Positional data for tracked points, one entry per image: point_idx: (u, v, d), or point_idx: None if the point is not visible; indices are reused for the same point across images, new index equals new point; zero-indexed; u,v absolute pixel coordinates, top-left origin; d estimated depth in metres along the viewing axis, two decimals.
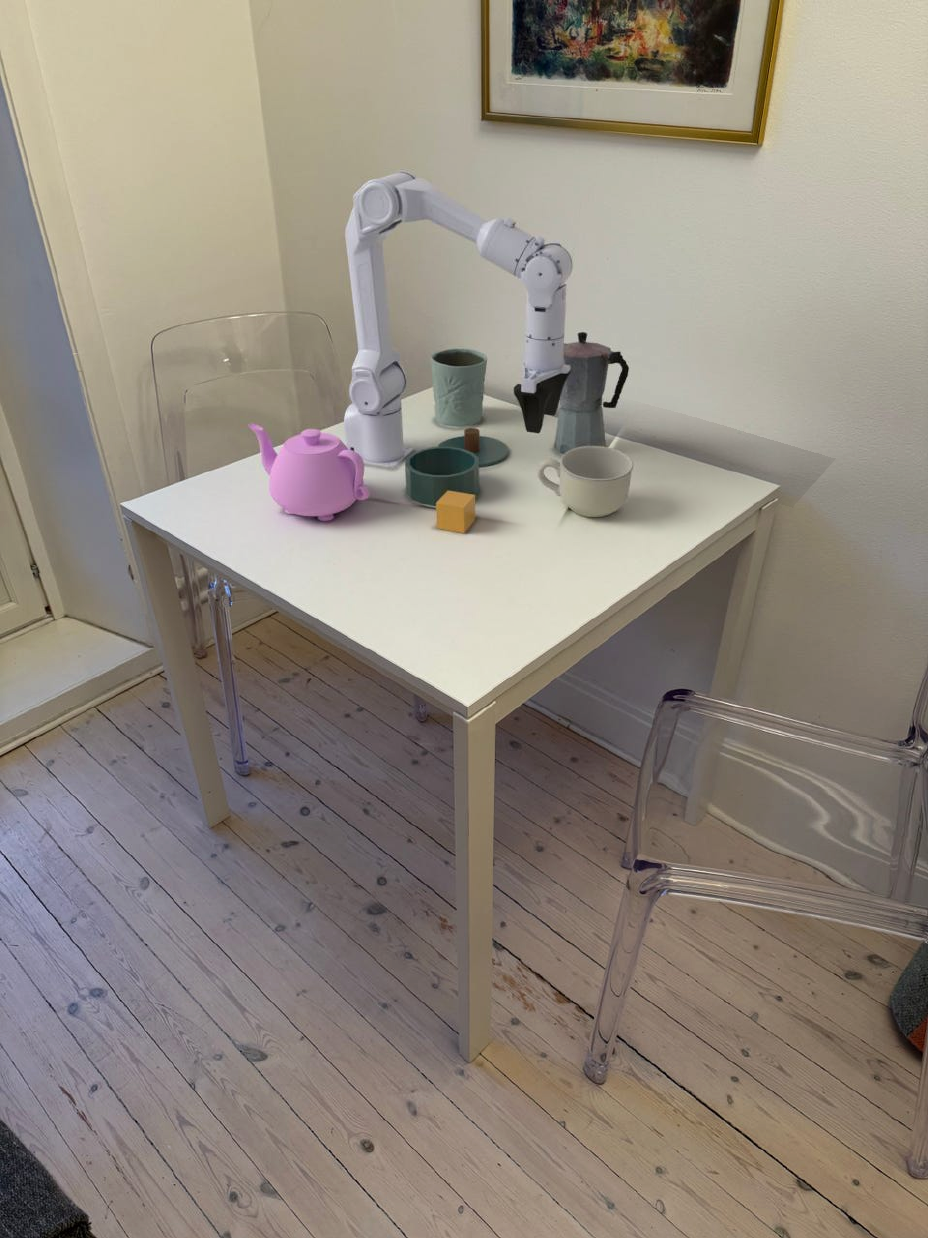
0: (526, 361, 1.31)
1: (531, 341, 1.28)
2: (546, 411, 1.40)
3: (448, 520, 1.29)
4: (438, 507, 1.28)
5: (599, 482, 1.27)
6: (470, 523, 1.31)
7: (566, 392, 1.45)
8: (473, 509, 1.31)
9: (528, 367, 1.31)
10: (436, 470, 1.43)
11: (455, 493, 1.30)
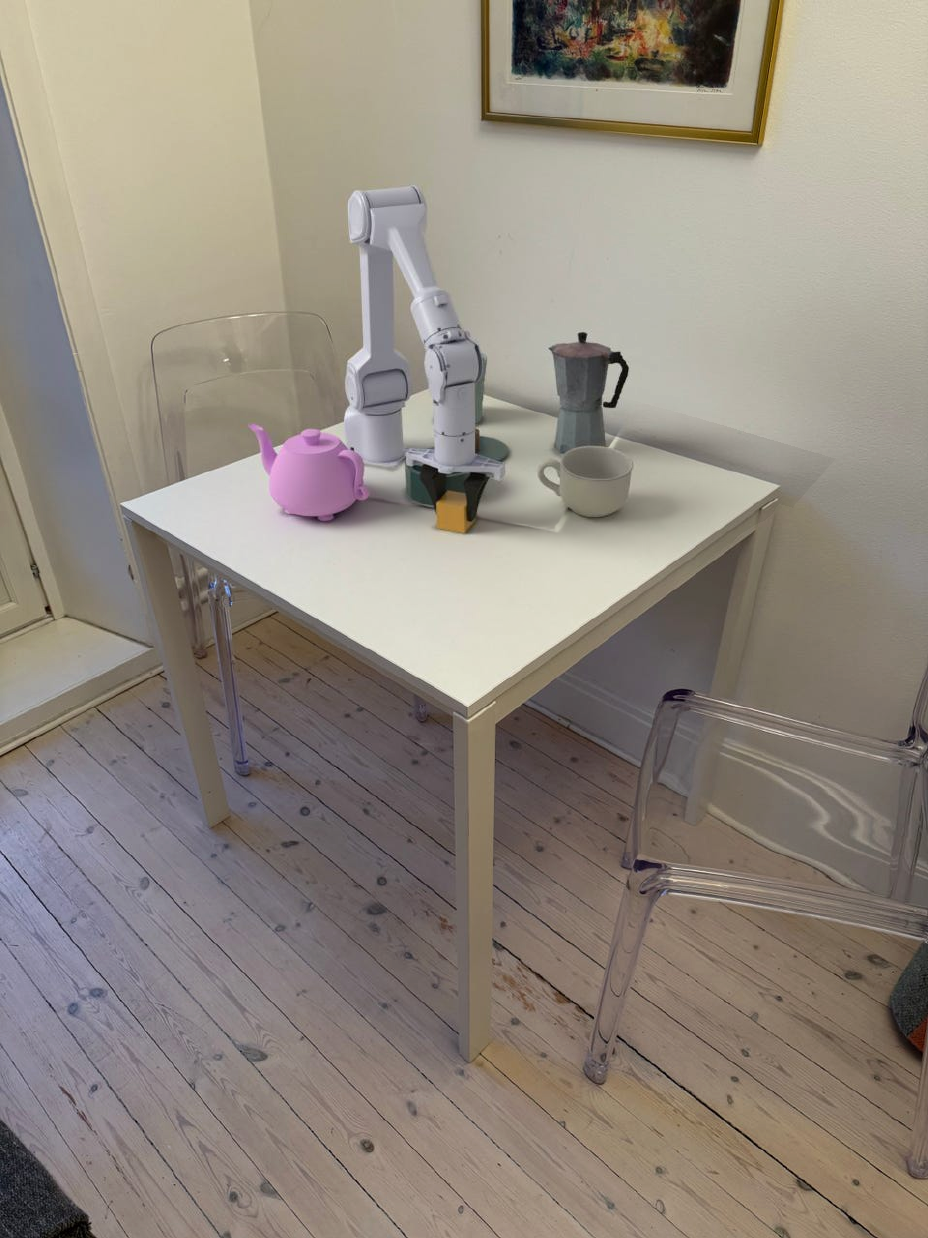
0: None
1: None
2: None
3: (448, 520, 1.29)
4: (438, 507, 1.28)
5: (599, 482, 1.27)
6: (470, 523, 1.31)
7: (566, 392, 1.45)
8: None
9: None
10: None
11: (455, 493, 1.30)
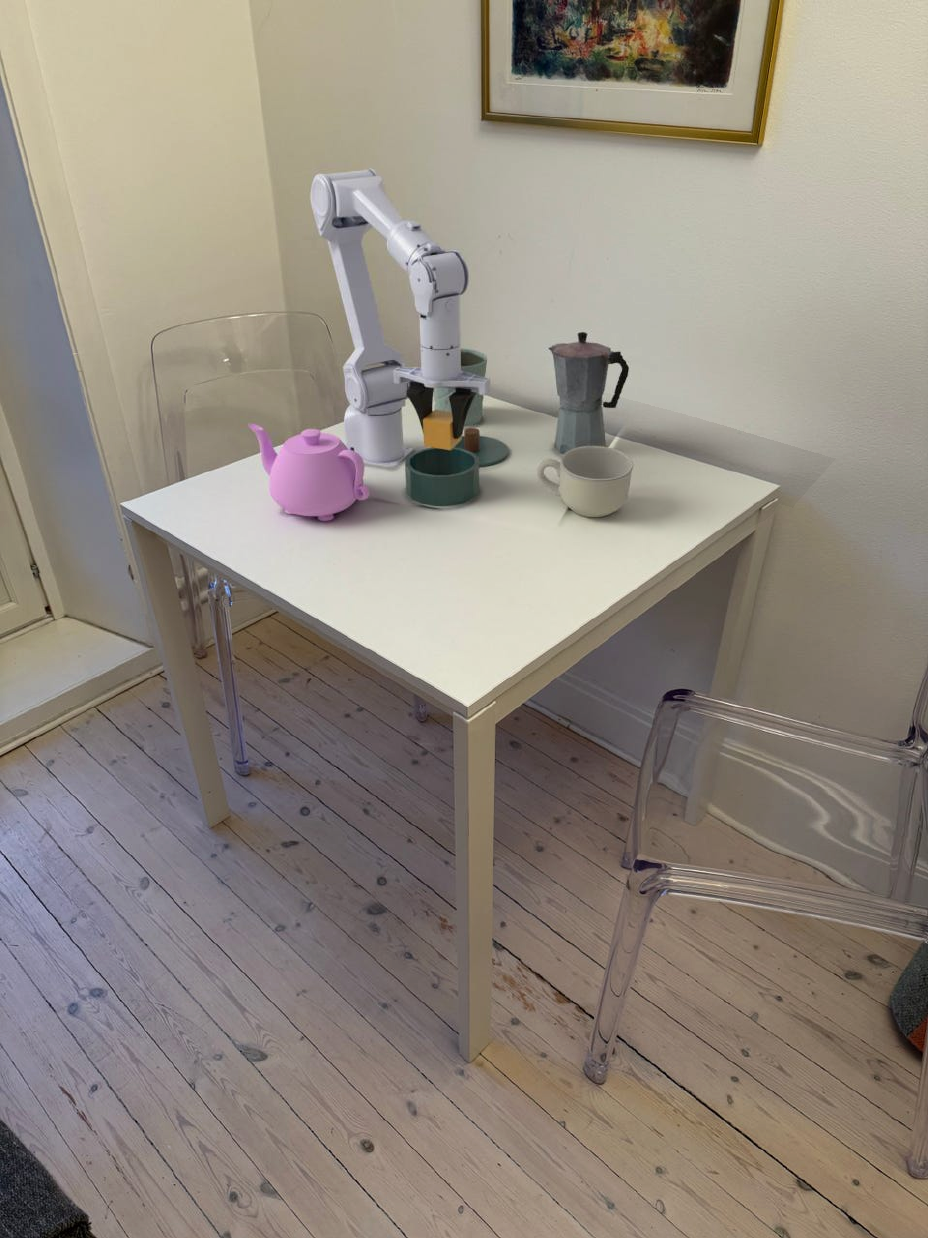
0: None
1: None
2: None
3: (434, 437, 1.32)
4: (425, 424, 1.31)
5: (599, 482, 1.27)
6: (456, 441, 1.33)
7: (566, 392, 1.45)
8: None
9: None
10: (436, 470, 1.43)
11: (442, 412, 1.33)
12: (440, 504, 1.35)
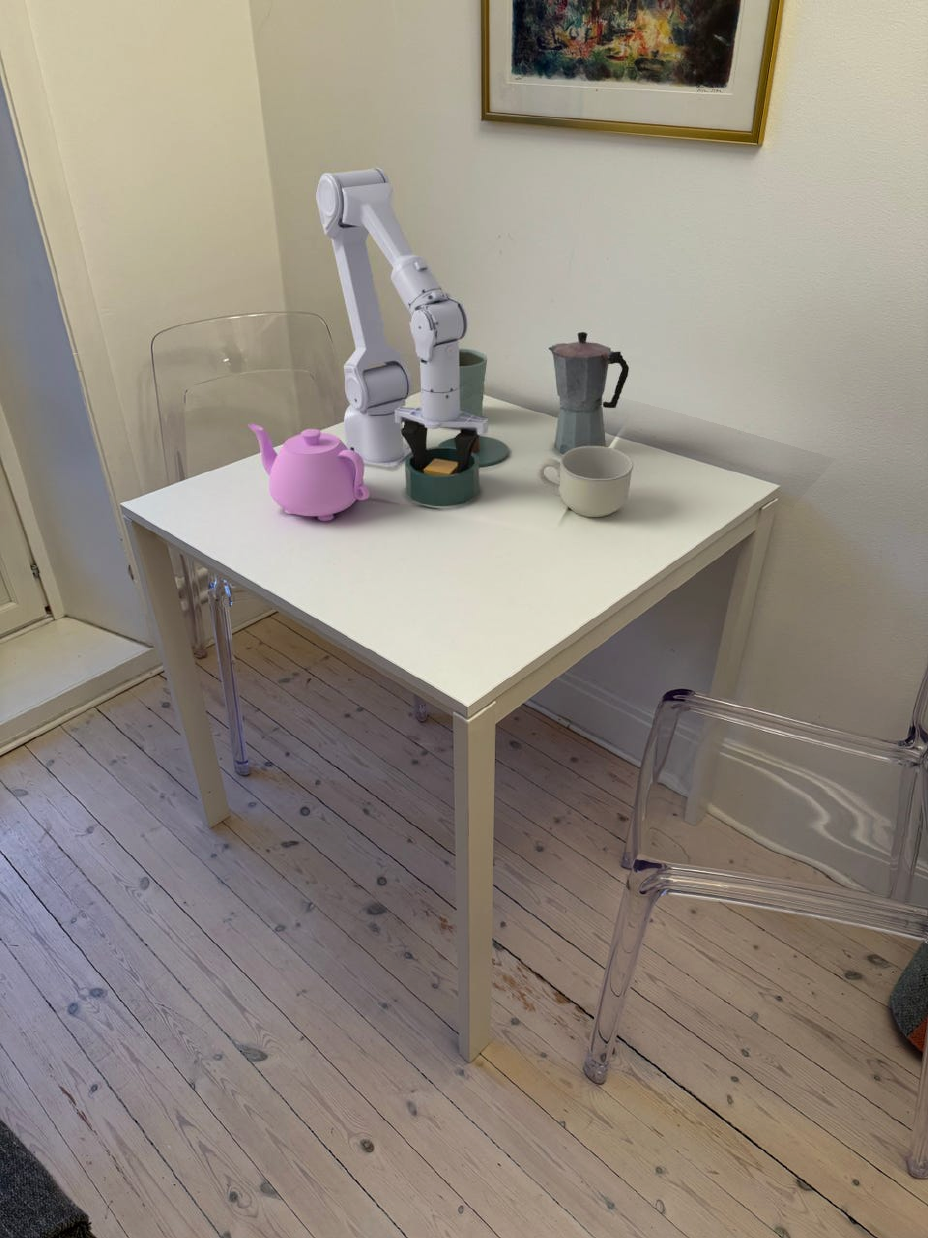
0: None
1: None
2: None
3: None
4: (425, 473, 1.37)
5: (599, 482, 1.27)
6: None
7: (566, 392, 1.45)
8: None
9: None
10: None
11: (442, 461, 1.39)
12: (440, 504, 1.35)
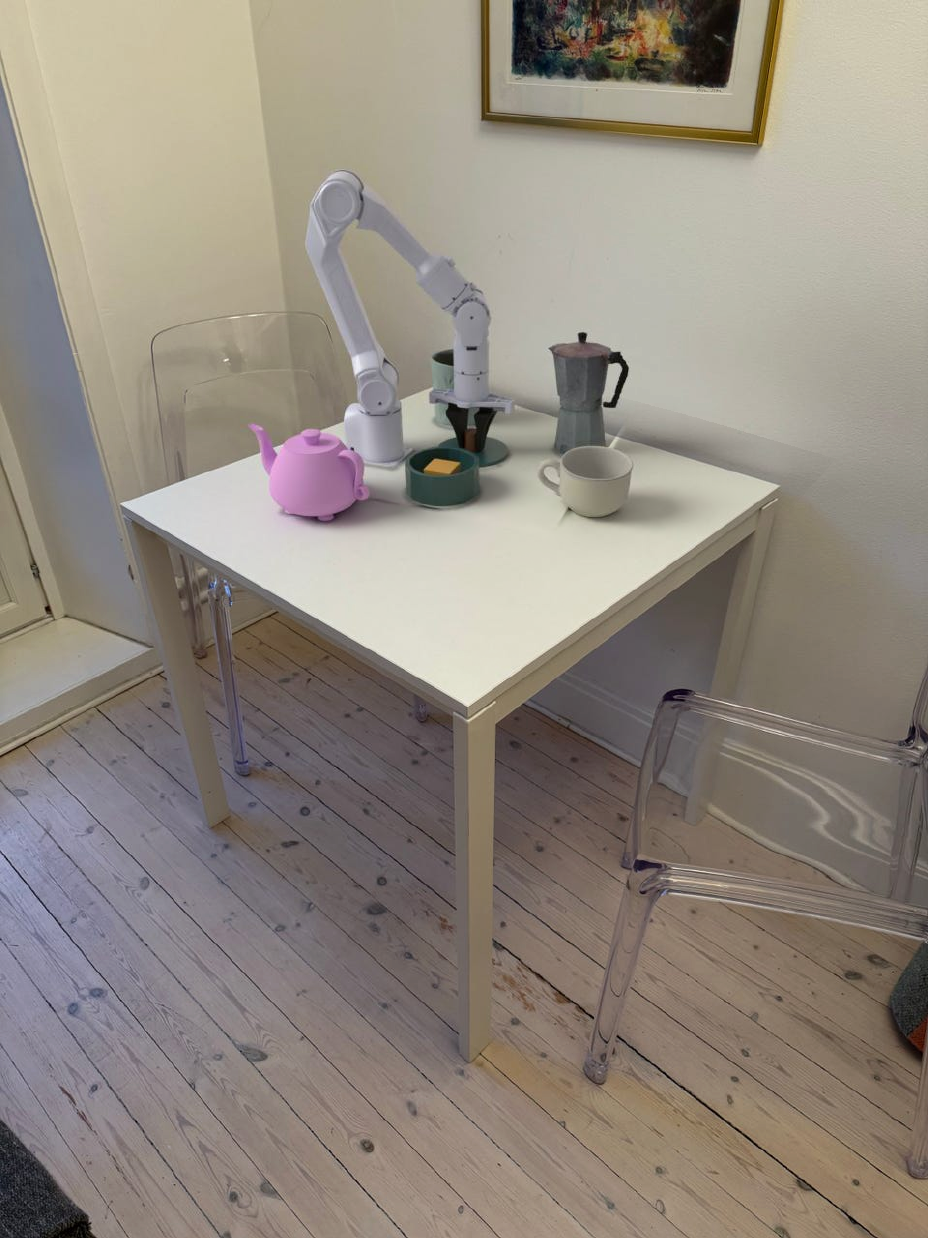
0: None
1: None
2: None
3: None
4: (425, 473, 1.37)
5: (599, 482, 1.27)
6: None
7: (566, 392, 1.45)
8: None
9: None
10: None
11: (442, 461, 1.39)
12: (440, 504, 1.35)
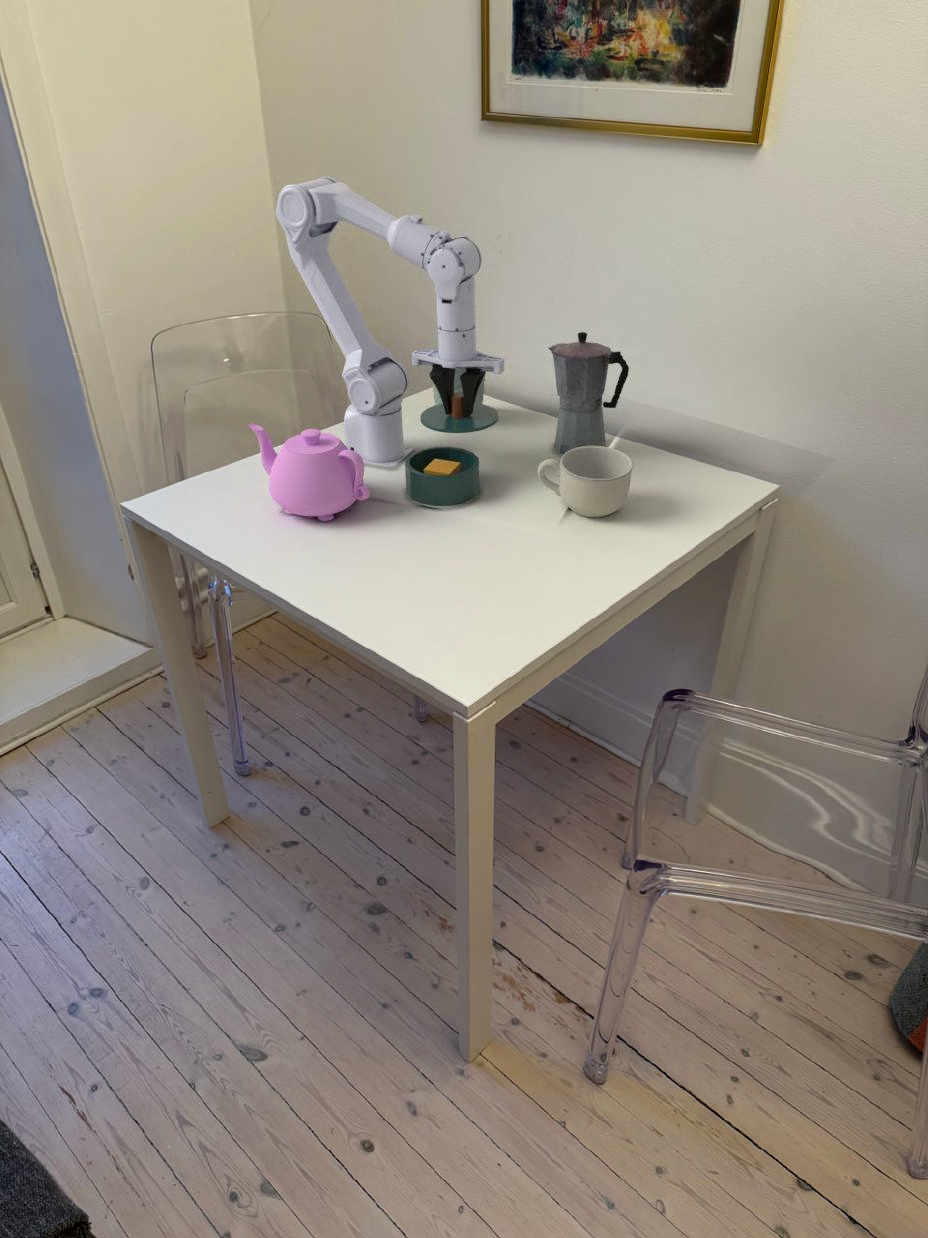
0: None
1: None
2: None
3: None
4: (425, 473, 1.37)
5: (599, 482, 1.27)
6: None
7: (566, 392, 1.45)
8: None
9: None
10: None
11: (442, 461, 1.39)
12: (440, 504, 1.35)
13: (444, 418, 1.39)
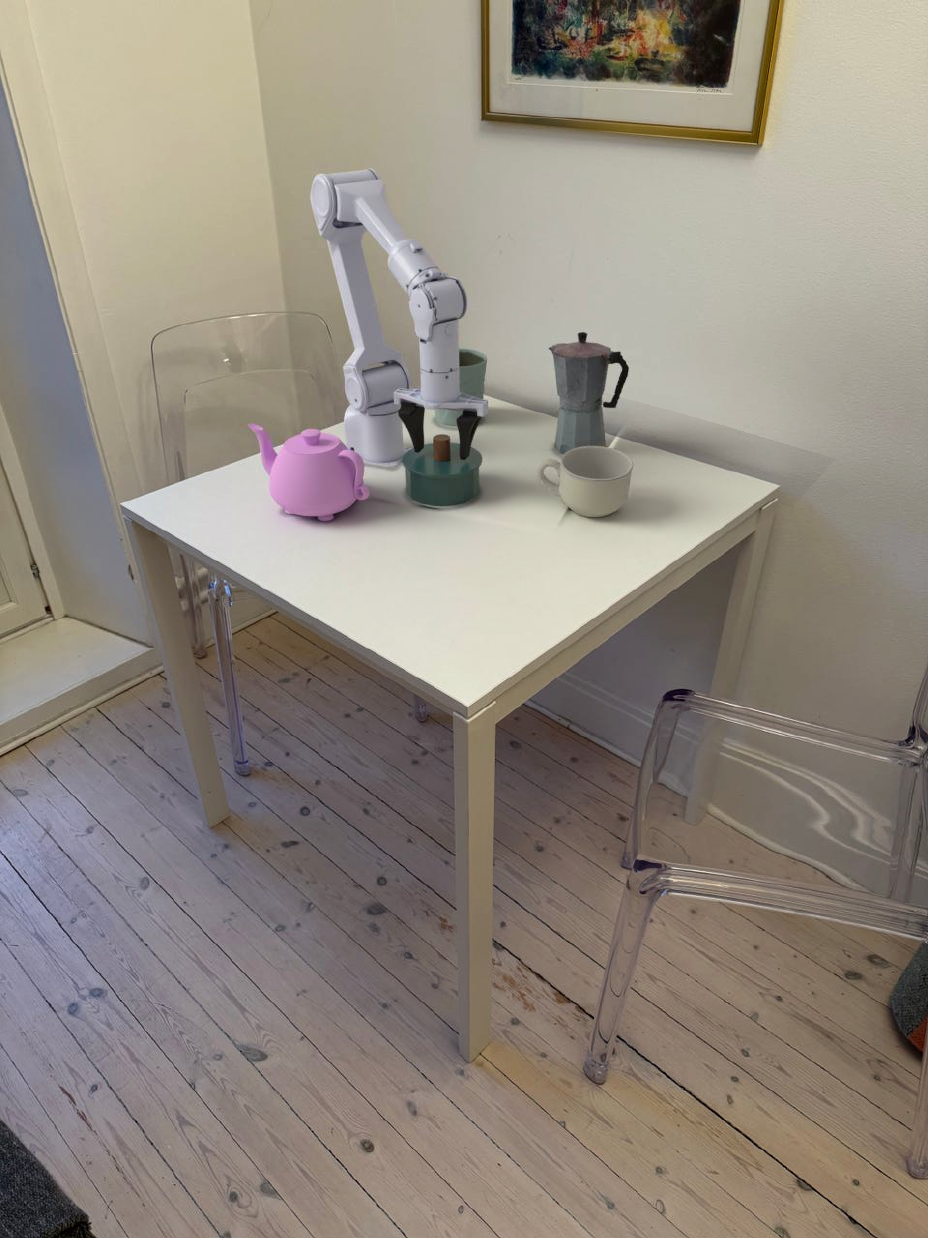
0: None
1: None
2: None
3: None
4: None
5: (599, 482, 1.27)
6: None
7: (566, 392, 1.45)
8: None
9: None
10: None
11: None
12: (440, 504, 1.35)
13: (426, 461, 1.36)
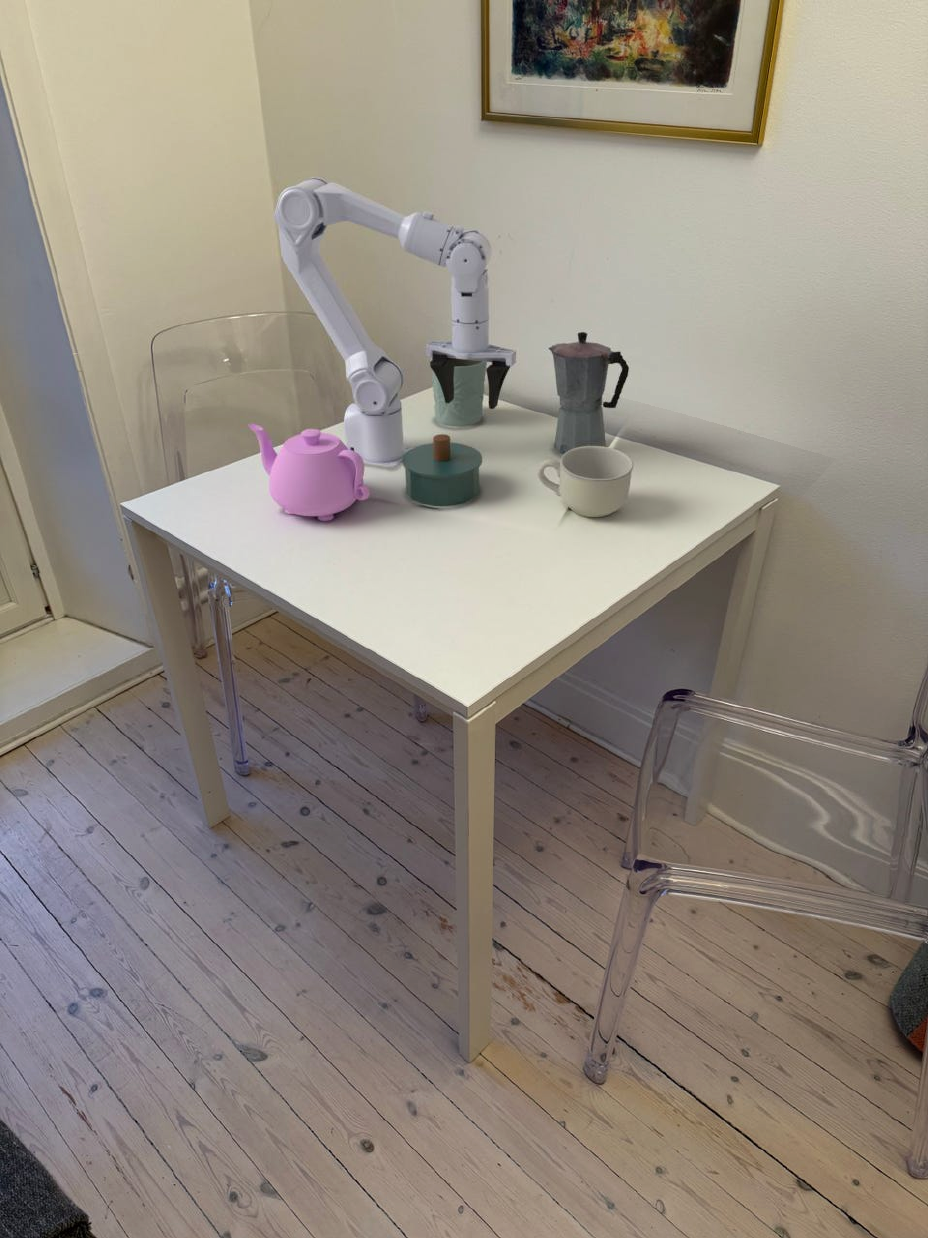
0: None
1: None
2: None
3: None
4: None
5: (599, 482, 1.27)
6: None
7: (566, 392, 1.45)
8: None
9: None
10: None
11: None
12: (440, 504, 1.35)
13: (426, 461, 1.36)
